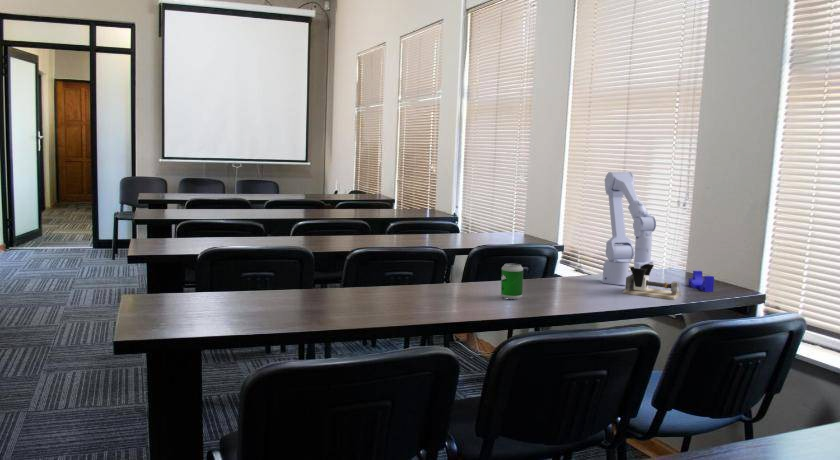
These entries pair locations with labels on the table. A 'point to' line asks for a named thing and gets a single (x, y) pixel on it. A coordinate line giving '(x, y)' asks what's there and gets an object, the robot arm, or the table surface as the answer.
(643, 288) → the cord end block
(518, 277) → the soda can
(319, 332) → the table surface
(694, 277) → the blue stepped block
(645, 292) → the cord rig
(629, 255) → the robot arm
